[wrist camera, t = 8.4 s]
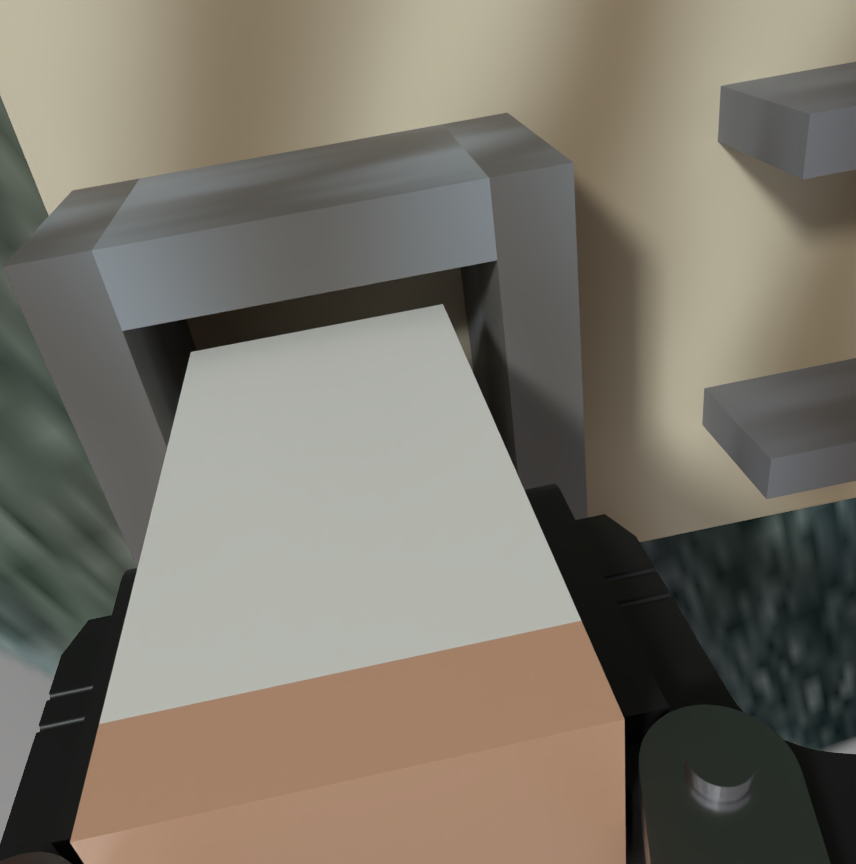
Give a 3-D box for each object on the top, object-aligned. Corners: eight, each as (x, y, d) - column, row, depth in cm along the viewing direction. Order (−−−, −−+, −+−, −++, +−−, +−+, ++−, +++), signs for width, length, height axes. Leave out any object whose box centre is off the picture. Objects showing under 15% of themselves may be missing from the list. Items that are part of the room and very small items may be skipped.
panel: (1084, -185, 15) (1453, -247, 10) (932, 443, 22) (1103, 574, 17) (-7, -4, 14) (-162, 20, 9) (220, 589, 21) (200, 771, 16)
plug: (443, 304, 12) (624, 719, 6) (470, 503, 15) (626, 978, 8) (190, 352, 12) (68, 843, 6) (255, 547, 14) (225, 1075, 8)
